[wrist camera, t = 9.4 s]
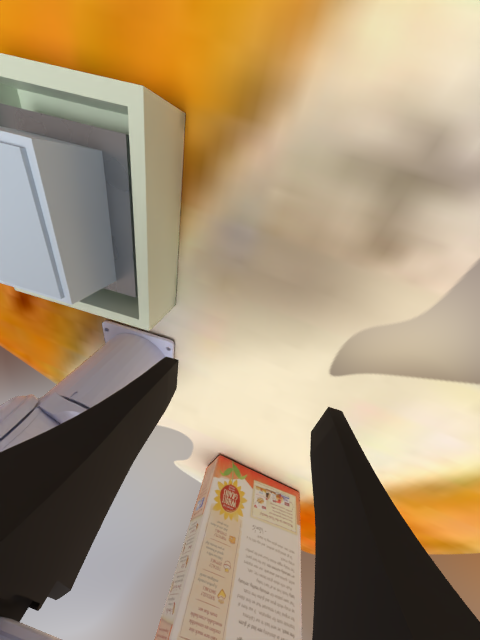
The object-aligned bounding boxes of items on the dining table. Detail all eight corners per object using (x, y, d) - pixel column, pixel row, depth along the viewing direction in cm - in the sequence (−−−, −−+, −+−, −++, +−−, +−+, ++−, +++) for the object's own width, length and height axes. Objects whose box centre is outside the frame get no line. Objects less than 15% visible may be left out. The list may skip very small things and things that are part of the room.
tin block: (153, 285, 19) (135, 297, 17) (69, 261, 20) (43, 270, 18) (151, 141, 14) (125, 134, 12) (36, 113, 14) (-8, 101, 12)
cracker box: (206, 466, 36) (123, 729, 19) (220, 452, 33) (136, 753, 16) (280, 502, 37) (267, 782, 20) (301, 491, 34) (307, 816, 17)
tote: (175, 304, 21) (149, 331, 17) (63, 271, 22) (15, 290, 18) (185, 113, 13) (143, 85, 10) (14, 73, 14) (-87, 33, 10)
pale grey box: (116, 280, 17) (68, 306, 13) (56, 263, 17) (-6, 283, 14) (102, 150, 12) (24, 137, 9) (21, 130, 13) (-84, 109, 9)
